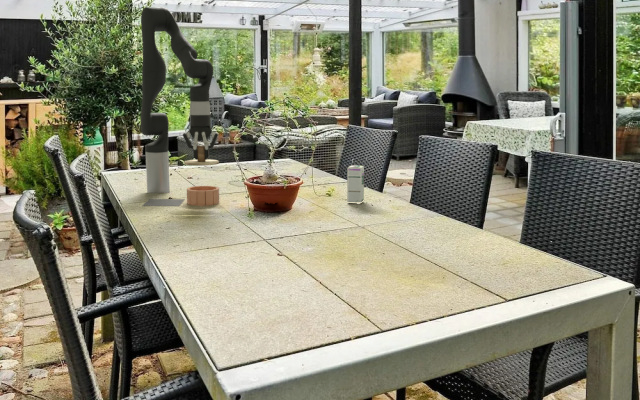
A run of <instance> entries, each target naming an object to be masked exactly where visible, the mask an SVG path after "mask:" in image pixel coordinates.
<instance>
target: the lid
mask: <svg viewBox="0 0 640 400" xmlns="http://www.w3.org/2000/svg"><path fill="white" fill-rule="evenodd" d="M197 158H198V160H196V159H189V160H184V163H183V164H184V165H186V166H195V167H198V166H200V167H203V166H204V167H205V166H217V165H219V163H220V161H219V160H217V159H209V158H208V159H207V160H205V145H204V144H203V145H201V144H200V145H199V144H198V146H197Z"/></svg>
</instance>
